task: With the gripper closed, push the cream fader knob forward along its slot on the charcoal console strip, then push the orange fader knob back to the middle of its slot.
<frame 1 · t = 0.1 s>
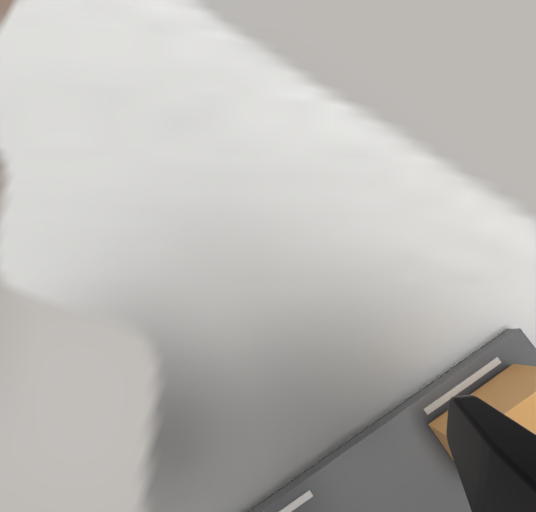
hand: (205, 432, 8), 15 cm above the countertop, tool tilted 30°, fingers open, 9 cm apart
orange fader: (514, 431, 18), point 4 cm above the countertop, slide at 7.0 cm
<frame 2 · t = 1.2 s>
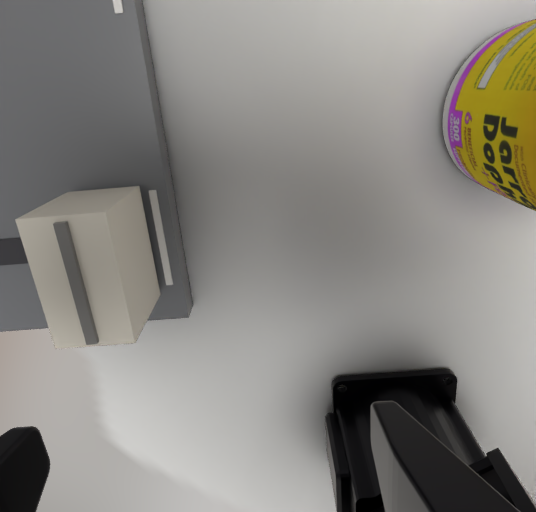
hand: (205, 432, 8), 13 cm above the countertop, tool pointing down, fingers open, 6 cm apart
supplement bottle: (513, 110, 18), on the countertop
console: (19, 118, 18), on the countertop
cream fader: (98, 264, 17), point 4 cm above the countertop, slide at 0.0 cm
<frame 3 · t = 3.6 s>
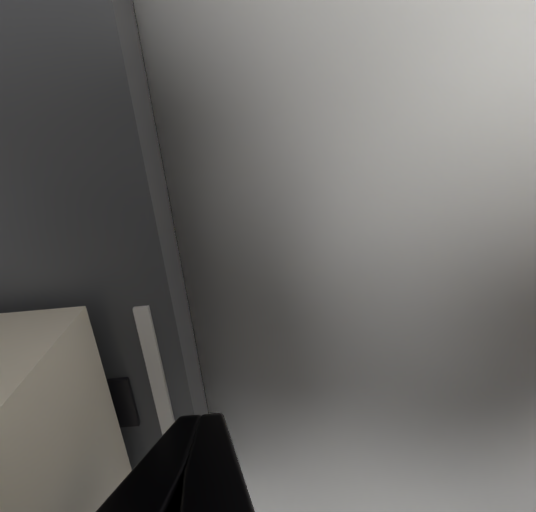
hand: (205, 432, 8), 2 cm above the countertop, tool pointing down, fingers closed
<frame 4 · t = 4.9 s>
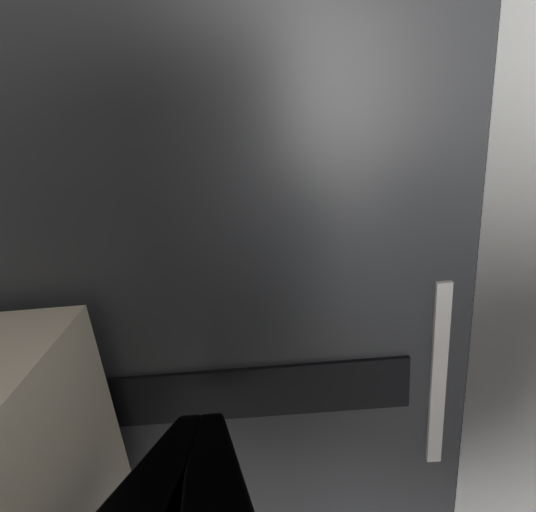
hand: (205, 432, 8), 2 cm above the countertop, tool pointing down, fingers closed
console: (144, 121, 8), on the countertop
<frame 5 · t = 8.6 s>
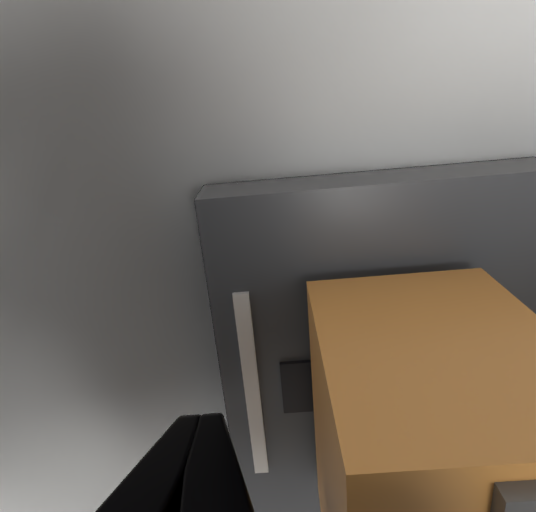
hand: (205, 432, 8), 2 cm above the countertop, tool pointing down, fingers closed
console: (470, 509, 12), on the countertop
orange fader: (428, 485, 6), point 4 cm above the countertop, slide at 6.2 cm, touching gripper
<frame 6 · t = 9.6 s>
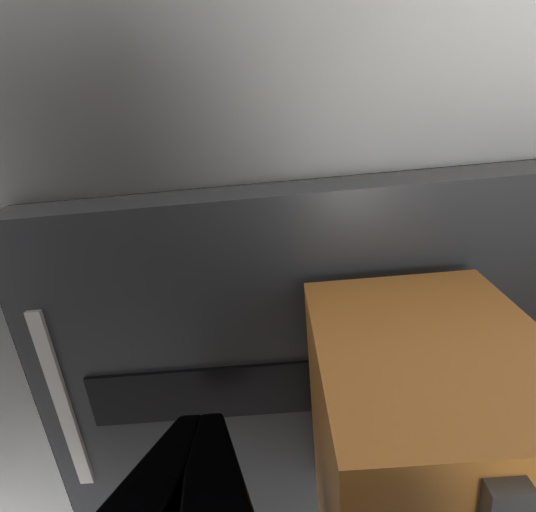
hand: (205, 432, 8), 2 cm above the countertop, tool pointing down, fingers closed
orange fader: (423, 483, 7), point 4 cm above the countertop, slide at 2.2 cm, touching gripper
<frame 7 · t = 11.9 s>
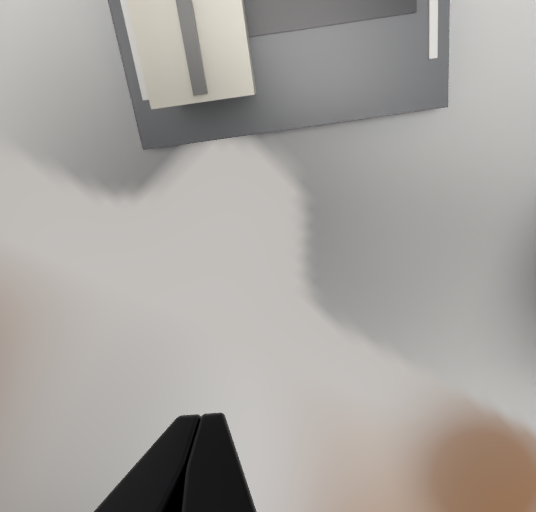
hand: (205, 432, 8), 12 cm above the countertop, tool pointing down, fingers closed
cream fader: (195, 14, 13), point 4 cm above the countertop, slide at 6.3 cm
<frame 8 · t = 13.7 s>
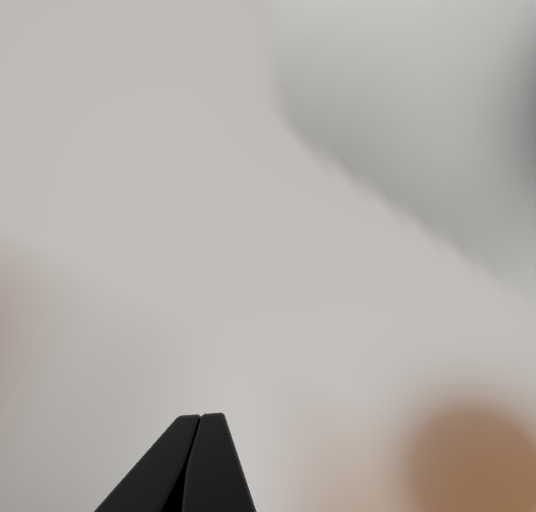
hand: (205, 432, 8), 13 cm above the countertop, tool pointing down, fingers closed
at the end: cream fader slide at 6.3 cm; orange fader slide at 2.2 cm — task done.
